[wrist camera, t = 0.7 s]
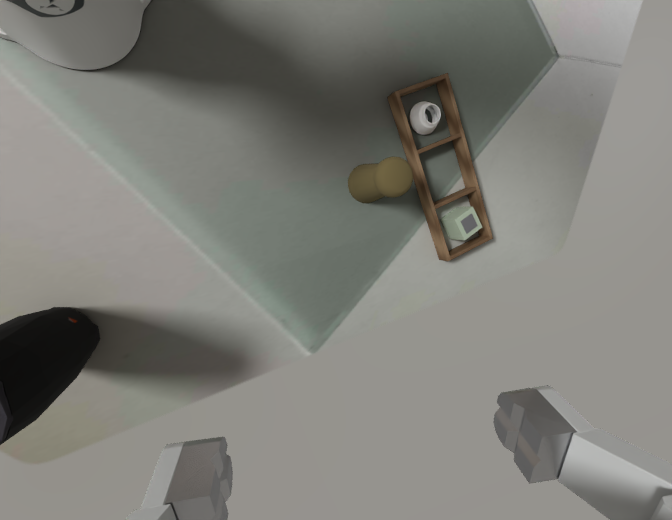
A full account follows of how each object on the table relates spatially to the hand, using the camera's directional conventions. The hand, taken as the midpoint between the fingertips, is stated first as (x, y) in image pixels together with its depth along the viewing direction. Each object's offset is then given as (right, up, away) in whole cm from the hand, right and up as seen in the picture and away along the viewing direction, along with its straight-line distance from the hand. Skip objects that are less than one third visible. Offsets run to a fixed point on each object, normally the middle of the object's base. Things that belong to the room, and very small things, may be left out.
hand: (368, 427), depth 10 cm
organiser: (+16, +20, +46) cm, 53 cm away
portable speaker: (-36, -5, +33) cm, 49 cm away
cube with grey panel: (+20, +11, +48) cm, 53 cm away
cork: (+4, +17, +42) cm, 46 cm away
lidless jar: (+13, +28, +44) cm, 54 cm away
